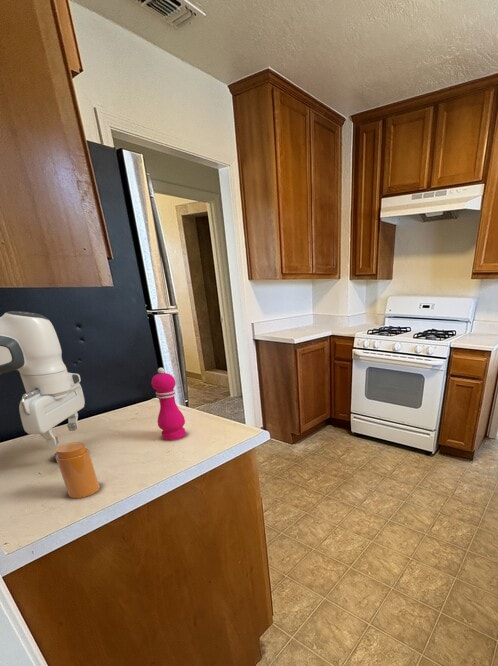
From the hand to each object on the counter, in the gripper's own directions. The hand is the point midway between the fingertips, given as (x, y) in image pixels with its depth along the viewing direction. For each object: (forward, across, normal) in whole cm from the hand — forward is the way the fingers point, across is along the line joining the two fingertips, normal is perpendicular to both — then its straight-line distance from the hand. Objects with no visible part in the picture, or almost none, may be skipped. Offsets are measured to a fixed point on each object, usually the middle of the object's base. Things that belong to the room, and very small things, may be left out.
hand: (64, 436), depth 89 cm
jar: (+5, -19, -12) cm, 23 cm away
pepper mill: (+5, +9, -24) cm, 26 cm away
